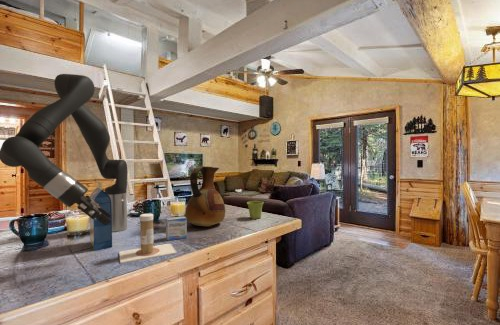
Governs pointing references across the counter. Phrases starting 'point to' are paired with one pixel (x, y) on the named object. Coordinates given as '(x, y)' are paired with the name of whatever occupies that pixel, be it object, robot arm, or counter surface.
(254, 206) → the plant pot
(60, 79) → the robot arm
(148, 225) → the sprinkles bottle
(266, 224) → the counter surface
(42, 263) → the counter surface
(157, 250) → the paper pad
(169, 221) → the medicine box
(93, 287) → the counter surface
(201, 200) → the ceramic pitcher
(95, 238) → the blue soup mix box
